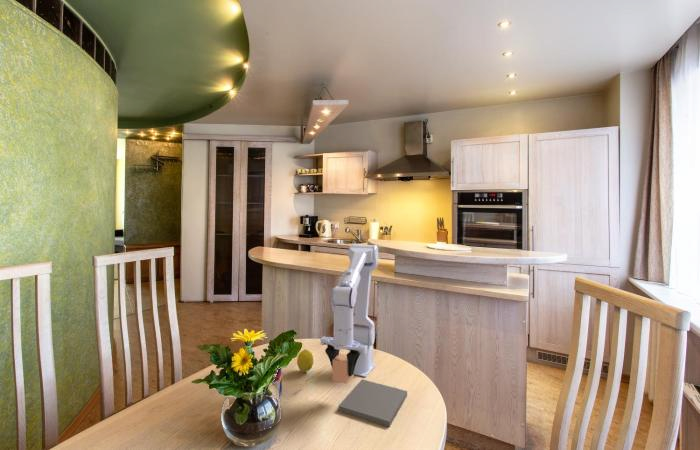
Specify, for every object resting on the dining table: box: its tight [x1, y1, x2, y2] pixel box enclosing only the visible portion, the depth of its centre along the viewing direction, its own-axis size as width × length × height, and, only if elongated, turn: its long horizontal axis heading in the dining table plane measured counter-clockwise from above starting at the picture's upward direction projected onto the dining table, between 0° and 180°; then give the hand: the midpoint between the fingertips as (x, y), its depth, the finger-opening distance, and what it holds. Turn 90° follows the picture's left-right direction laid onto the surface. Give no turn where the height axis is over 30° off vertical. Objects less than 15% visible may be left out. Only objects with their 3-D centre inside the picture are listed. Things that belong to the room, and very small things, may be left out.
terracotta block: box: [331, 353, 355, 385], centre depth 97 cm, size 5×5×6 cm
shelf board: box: [338, 379, 408, 428], centre depth 96 cm, size 16×15×2 cm
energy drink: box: [272, 367, 283, 397], centre depth 99 cm, size 5×5×12 cm
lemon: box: [296, 349, 314, 373], centre depth 113 cm, size 6×6×8 cm
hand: (343, 372), depth 97 cm, fingers closed on terracotta block, 5 cm apart
